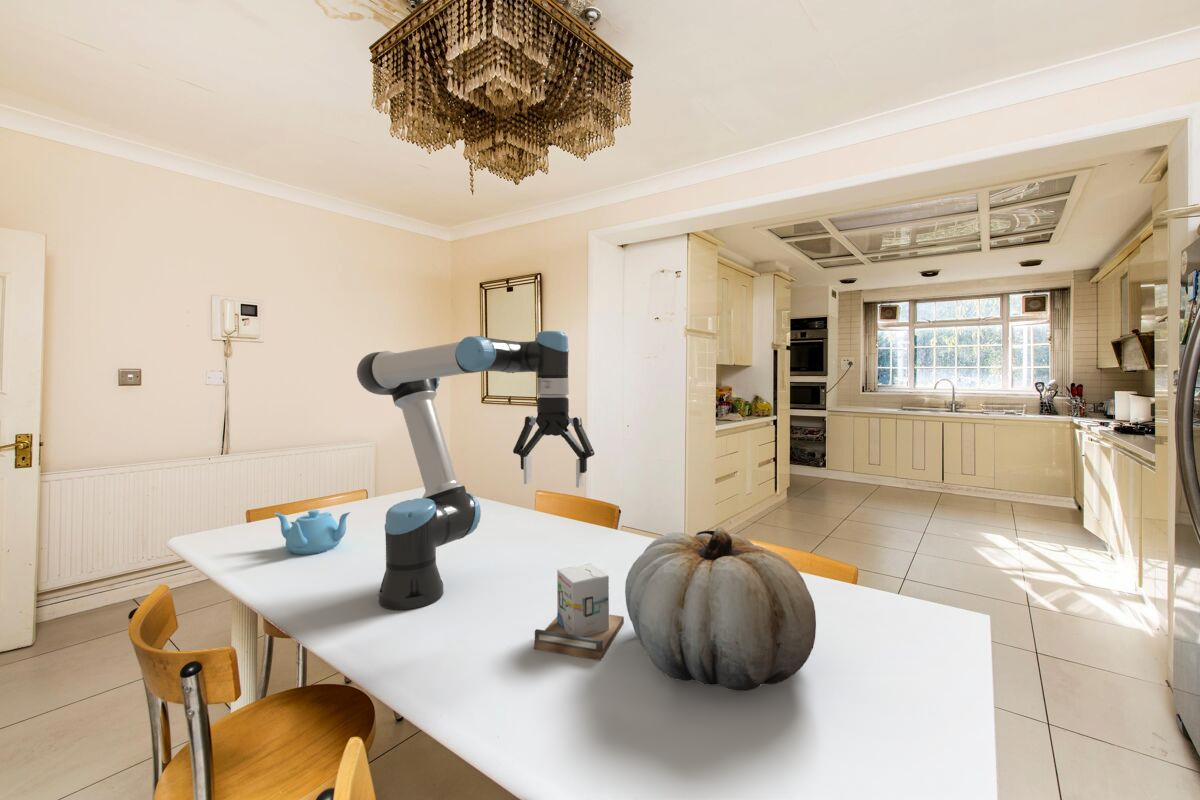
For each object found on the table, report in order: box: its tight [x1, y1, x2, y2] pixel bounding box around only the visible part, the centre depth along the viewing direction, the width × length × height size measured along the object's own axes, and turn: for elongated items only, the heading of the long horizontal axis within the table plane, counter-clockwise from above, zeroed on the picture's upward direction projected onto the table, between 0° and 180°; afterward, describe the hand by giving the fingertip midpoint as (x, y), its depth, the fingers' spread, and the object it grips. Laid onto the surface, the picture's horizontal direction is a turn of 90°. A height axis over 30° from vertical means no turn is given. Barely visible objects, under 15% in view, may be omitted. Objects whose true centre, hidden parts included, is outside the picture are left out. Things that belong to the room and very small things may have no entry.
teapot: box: [273, 509, 351, 555], centre depth 164 cm, size 17×19×12 cm
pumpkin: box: [624, 527, 817, 692], centre depth 98 cm, size 37×36×25 cm
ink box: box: [556, 563, 610, 637], centre depth 107 cm, size 8×8×12 cm
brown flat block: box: [533, 613, 625, 661], centre depth 106 cm, size 14×16×4 cm
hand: (553, 484), depth 121 cm, fingers open, 13 cm apart
